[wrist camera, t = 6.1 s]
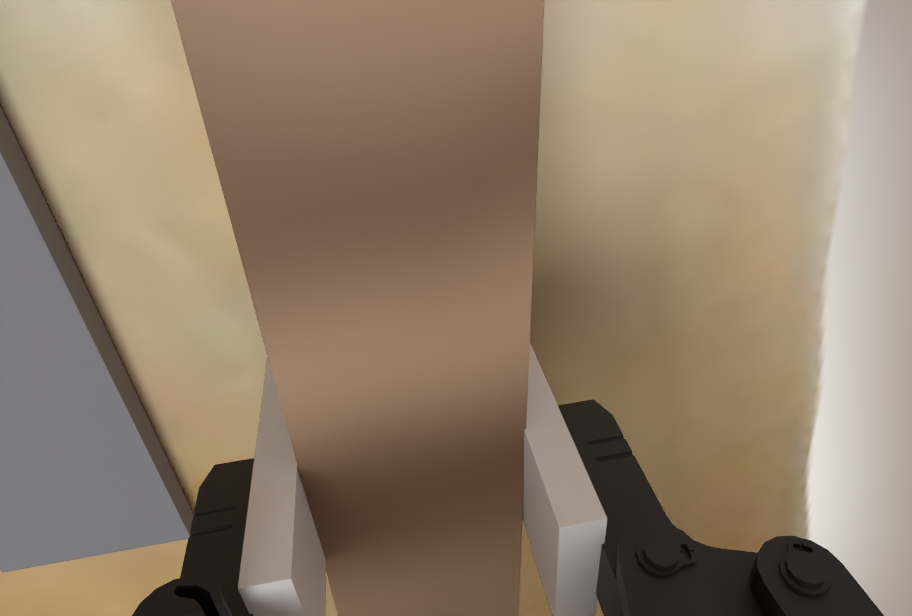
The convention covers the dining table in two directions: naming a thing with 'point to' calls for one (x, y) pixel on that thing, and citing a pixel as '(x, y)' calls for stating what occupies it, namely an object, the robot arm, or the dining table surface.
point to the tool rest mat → (67, 403)
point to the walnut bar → (388, 271)
